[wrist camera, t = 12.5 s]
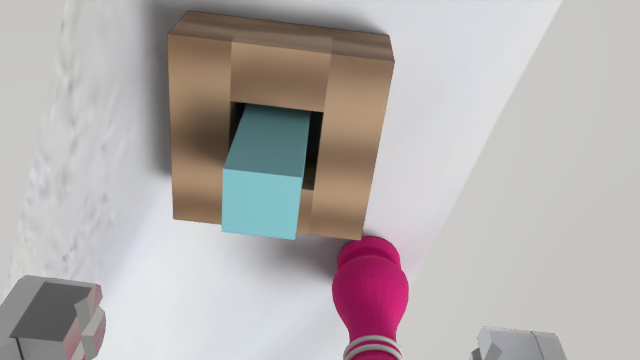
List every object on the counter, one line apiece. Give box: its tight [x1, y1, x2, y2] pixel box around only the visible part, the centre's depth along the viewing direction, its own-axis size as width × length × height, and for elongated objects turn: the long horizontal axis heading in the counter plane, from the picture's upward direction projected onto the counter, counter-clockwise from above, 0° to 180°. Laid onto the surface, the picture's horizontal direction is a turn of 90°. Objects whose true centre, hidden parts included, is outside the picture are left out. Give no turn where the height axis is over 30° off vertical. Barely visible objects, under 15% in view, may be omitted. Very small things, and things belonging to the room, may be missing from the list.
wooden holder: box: [167, 11, 395, 241], centre depth 46 cm, size 16×16×6 cm
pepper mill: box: [332, 237, 409, 360], centre depth 48 cm, size 7×7×20 cm
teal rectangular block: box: [222, 103, 311, 240], centre depth 43 cm, size 5×5×14 cm
